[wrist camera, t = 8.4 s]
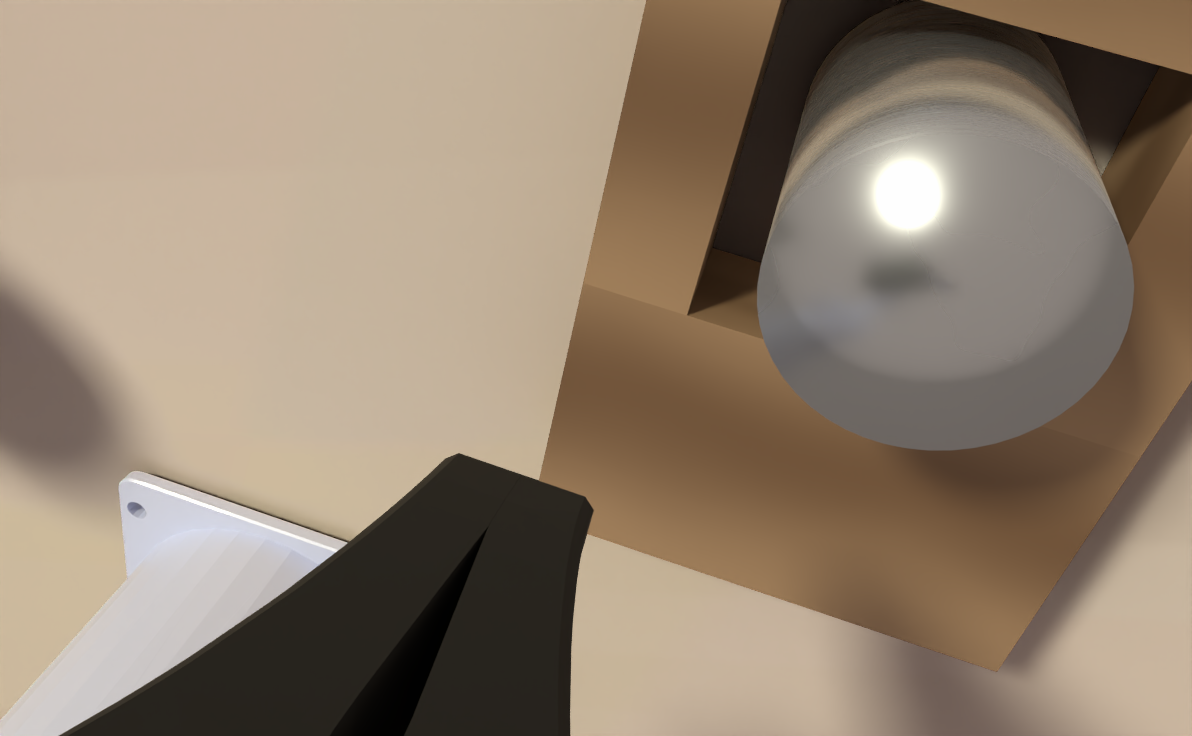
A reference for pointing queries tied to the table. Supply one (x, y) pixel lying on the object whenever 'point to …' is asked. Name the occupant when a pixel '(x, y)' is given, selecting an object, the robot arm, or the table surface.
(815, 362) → the brushed metal cylinder
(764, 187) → the table surface
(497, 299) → the table surface
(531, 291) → the table surface
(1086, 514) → the jig
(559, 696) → the robot arm
